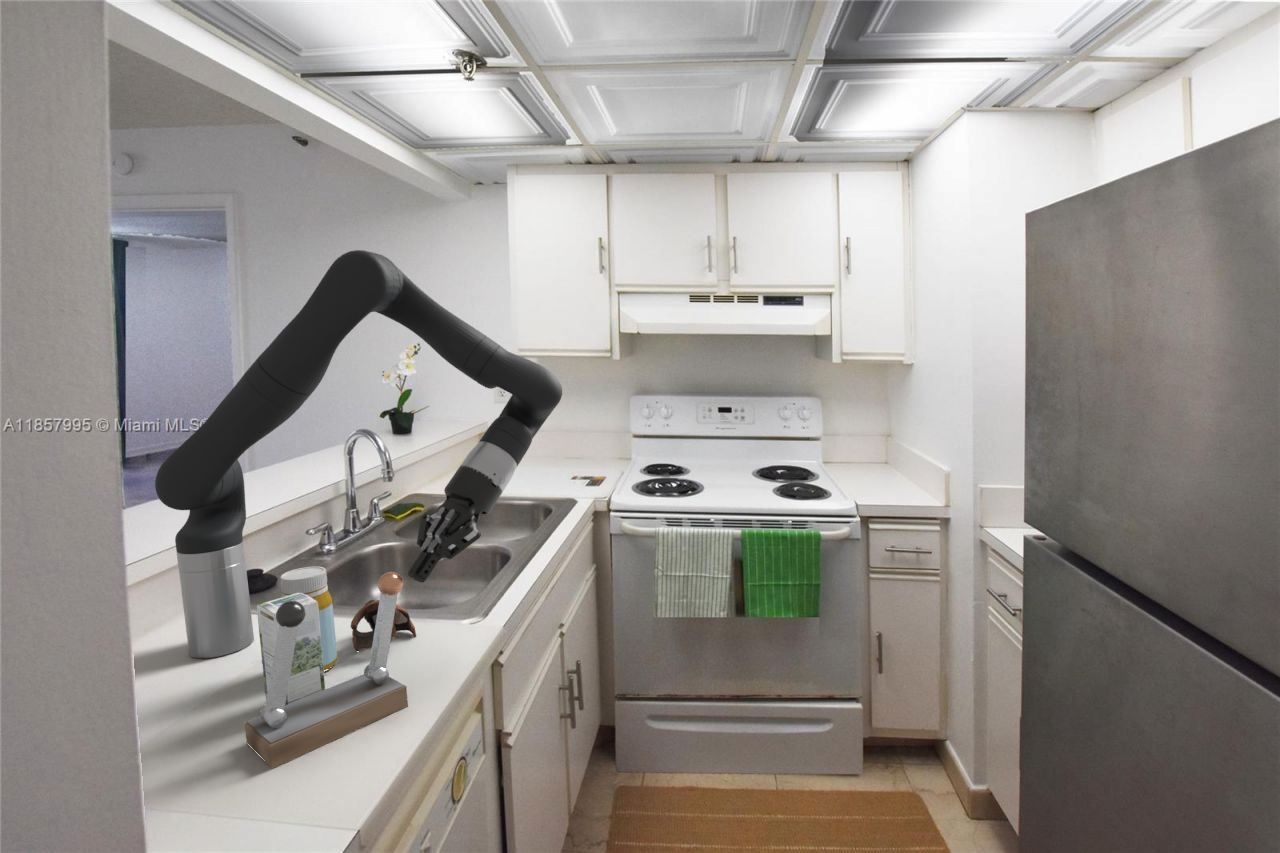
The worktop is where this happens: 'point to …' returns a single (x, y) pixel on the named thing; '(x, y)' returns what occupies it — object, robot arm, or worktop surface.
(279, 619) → the lever black
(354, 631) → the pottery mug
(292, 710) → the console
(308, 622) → the syrup box
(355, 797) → the worktop surface
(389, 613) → the lever terracotta
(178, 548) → the robot arm
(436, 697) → the worktop surface
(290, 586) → the bottle
